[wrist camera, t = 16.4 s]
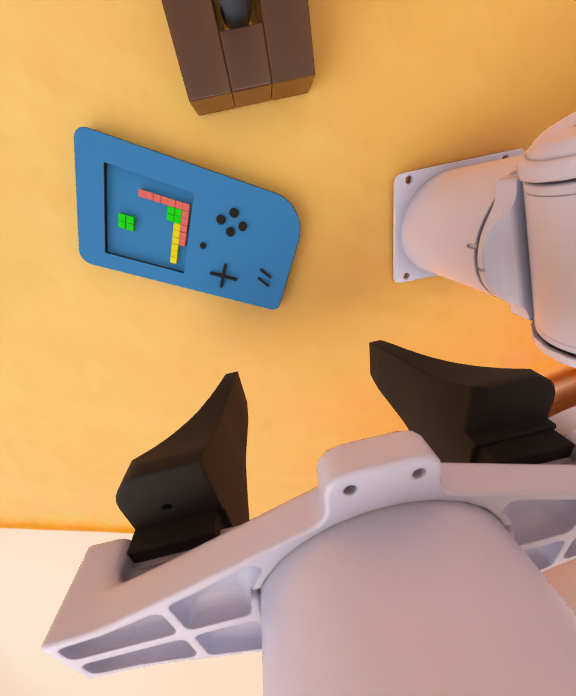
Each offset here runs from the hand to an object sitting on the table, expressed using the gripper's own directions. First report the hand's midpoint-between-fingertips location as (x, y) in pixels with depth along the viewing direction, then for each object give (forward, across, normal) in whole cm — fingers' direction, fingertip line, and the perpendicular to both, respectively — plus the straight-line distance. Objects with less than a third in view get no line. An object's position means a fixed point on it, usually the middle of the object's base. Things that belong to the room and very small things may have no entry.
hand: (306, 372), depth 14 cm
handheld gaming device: (+11, +5, -8) cm, 14 cm away
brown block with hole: (+10, 0, -18) cm, 20 cm away
